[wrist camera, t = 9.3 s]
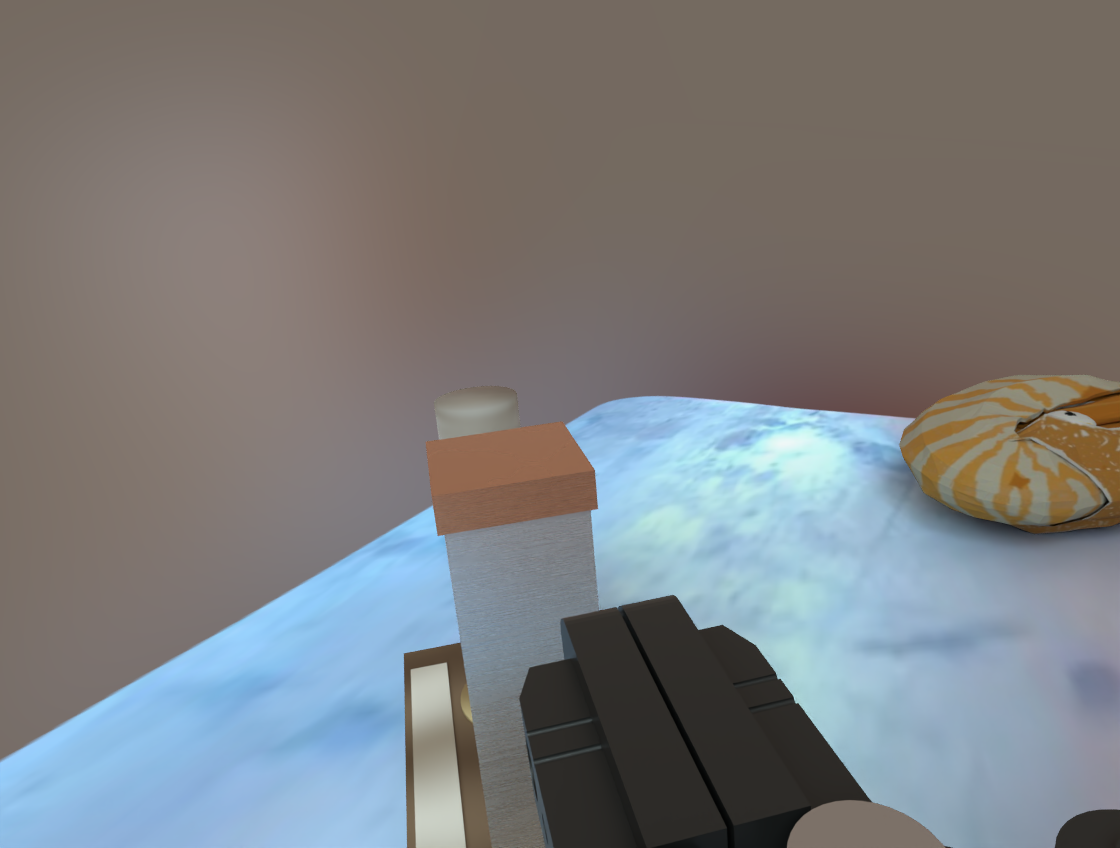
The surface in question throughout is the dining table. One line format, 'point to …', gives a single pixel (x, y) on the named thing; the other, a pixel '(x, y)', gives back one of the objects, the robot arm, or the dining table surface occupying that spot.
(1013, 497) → the nautilus
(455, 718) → the wooden base plate
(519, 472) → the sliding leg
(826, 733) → the dining table surface
